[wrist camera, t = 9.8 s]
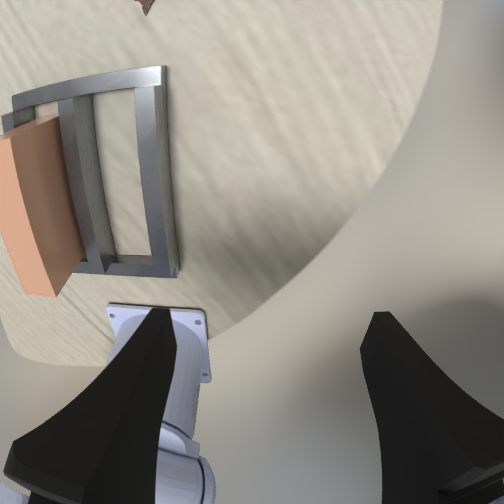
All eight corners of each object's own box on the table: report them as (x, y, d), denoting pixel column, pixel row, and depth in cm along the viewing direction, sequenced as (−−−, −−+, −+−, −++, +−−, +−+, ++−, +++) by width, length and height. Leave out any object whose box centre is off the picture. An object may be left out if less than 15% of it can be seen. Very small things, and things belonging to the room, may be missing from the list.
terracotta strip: (94, 240, 20) (56, 297, 15) (66, 239, 20) (25, 293, 15) (72, 110, 15) (9, 138, 10) (41, 116, 15) (-22, 146, 10)
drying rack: (179, 269, 21) (173, 290, 19) (57, 263, 21) (44, 281, 19) (166, 65, 14) (153, 66, 12) (21, 93, 14) (-1, 99, 12)
